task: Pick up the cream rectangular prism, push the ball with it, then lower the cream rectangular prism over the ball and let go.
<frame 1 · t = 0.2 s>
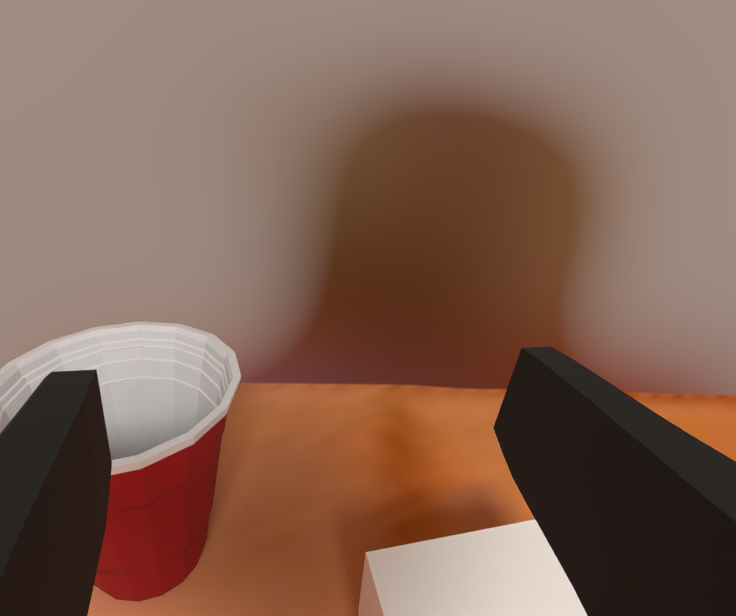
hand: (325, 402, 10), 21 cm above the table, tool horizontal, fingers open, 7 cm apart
plastic cup: (148, 549, 31), on the table
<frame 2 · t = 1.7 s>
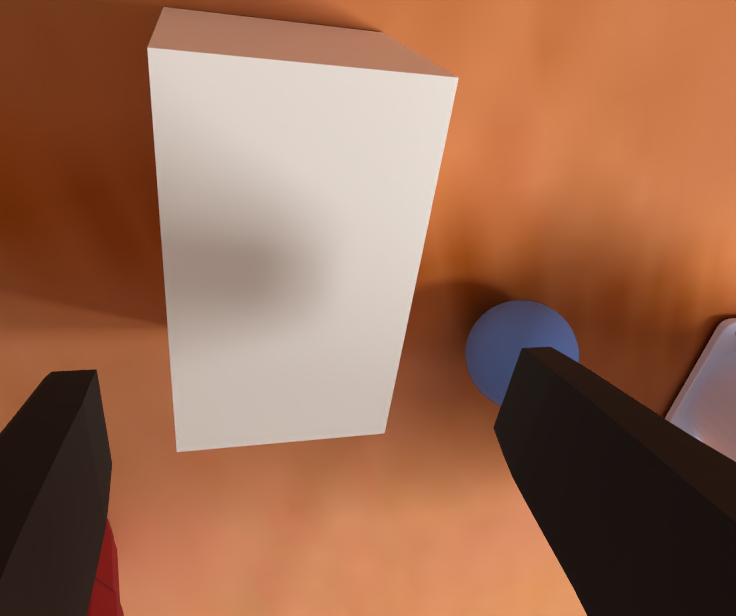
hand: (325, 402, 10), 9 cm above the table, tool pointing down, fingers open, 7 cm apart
plastic cup: (32, 536, 23), on the table
cream rectangular prism: (272, 196, 17), on the table
ball: (520, 354, 20), on the table
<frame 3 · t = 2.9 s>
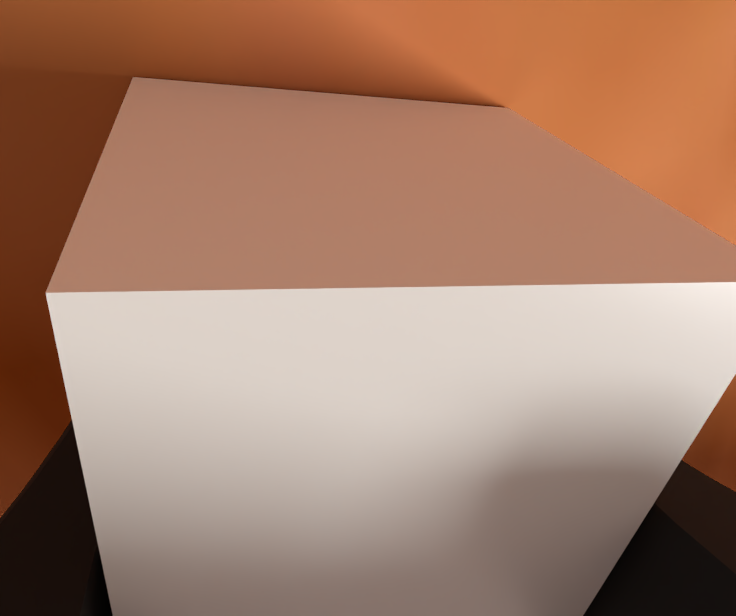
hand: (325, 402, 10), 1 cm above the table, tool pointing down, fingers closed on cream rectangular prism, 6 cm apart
cream rectangular prism: (312, 352, 11), on the table, touching gripper
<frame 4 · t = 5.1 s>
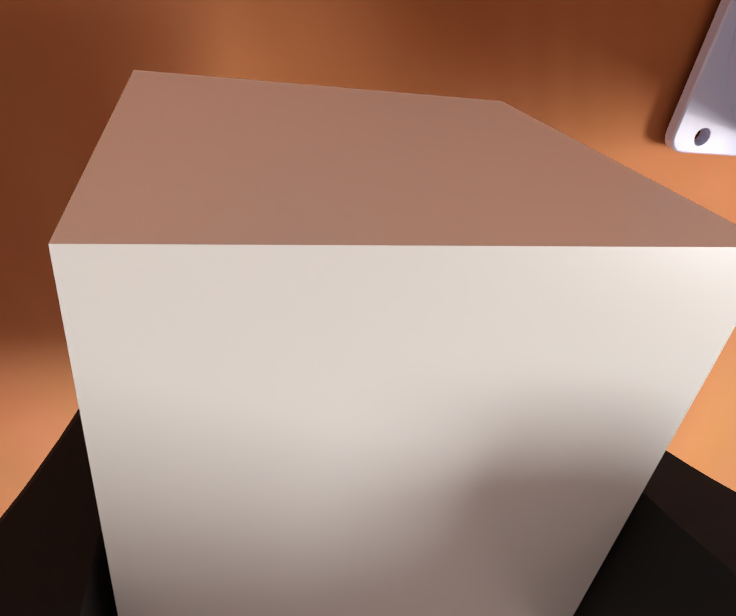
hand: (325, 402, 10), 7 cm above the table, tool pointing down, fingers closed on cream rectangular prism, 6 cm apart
cream rectangular prism: (311, 346, 11), point 6 cm above the table, touching gripper
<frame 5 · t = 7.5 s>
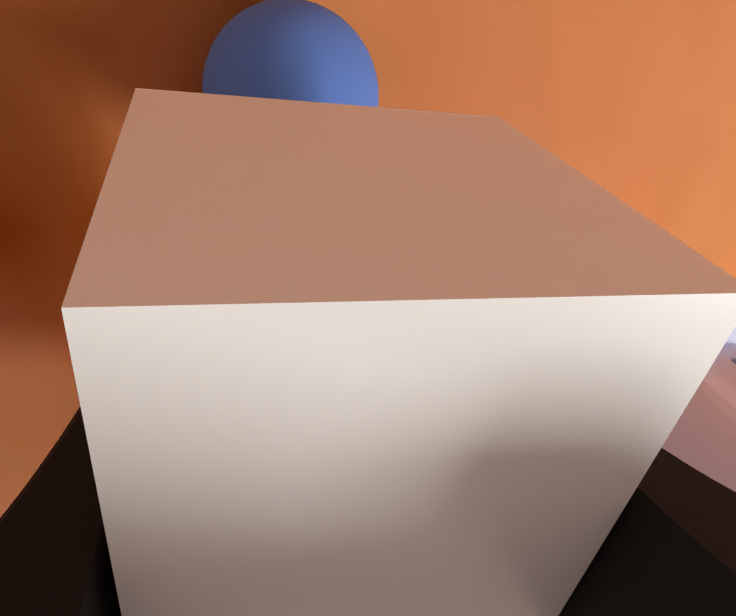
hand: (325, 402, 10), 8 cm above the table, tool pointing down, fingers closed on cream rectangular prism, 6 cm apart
cream rectangular prism: (308, 351, 11), point 7 cm above the table, touching gripper
ball: (292, 96, 13), on the table
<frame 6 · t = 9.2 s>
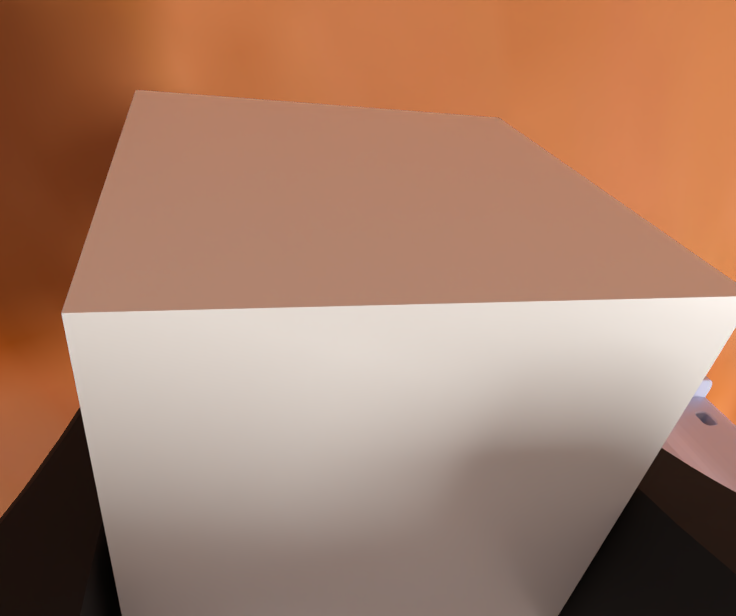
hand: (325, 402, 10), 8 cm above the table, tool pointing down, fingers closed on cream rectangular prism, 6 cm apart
cream rectangular prism: (308, 351, 11), point 7 cm above the table, touching gripper
when the fingers open (2 cm above the table, at t = 10.8 s): cream rectangular prism stays where it is, on the table.
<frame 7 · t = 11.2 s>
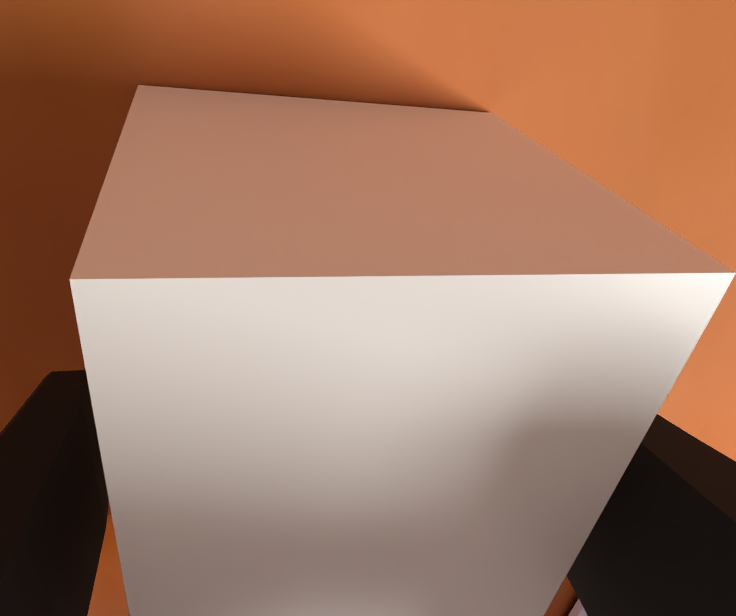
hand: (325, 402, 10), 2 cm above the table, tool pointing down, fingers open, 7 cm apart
cream rectangular prism: (307, 345, 11), on the table
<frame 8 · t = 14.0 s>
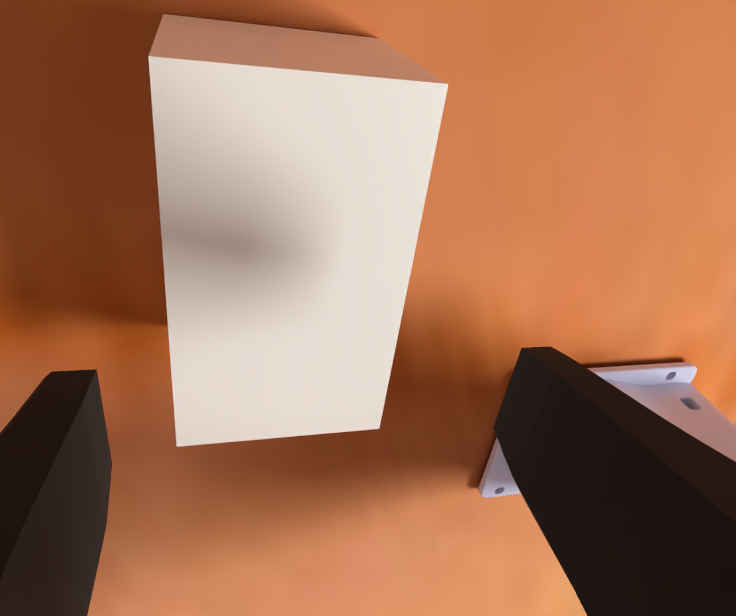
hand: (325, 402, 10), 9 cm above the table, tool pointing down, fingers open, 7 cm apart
cream rectangular prism: (269, 198, 17), on the table
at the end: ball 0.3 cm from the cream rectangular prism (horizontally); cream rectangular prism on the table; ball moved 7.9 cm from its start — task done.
